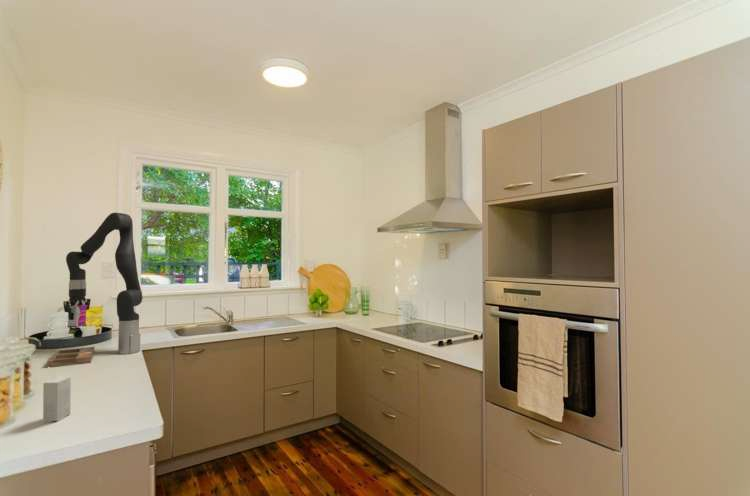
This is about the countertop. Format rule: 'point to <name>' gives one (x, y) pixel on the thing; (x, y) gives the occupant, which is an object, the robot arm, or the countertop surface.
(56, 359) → the socket block
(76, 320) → the supplement box
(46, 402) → the skincare box
